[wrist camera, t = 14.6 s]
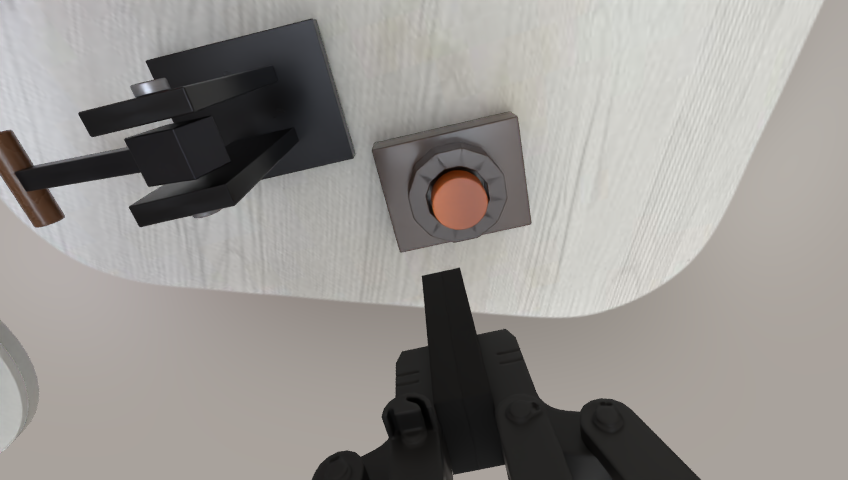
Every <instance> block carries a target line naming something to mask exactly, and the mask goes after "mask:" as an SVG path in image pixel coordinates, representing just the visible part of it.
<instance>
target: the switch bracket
mask: <svg viewBox="0 0 848 480" xmlns="http://www.w3.org/2000/svg"><path fill="white" fill-rule="evenodd" d="M146 63H147V65H148V67H149V70H150V72H151V74H152V76H153V78H154V80H151V81H147V82H143V83H139V84H135V85H131V86H130V88H131V90H132V92H133V94H134V96H135V97H136V98H134V99H130V100H126V101H122V102H118V103H114V104H110V105H106V106H102V107H98V108H94V109H90V110H86V111H82V112H79V113H78V114H79V116H80V118H81V120H82V122H83V123H84V125H85V127H86V129H87V131H88V133H89V134H90V136H91V137H96V136H100V135H104V134H108V133H112V132H116V131H120V130H125V129H129V128H133V127H137V126H141V125H145V124H149V123H153V122H157V121H162V120H166V119H170V118H172V120H173V122H174V123H178V122H183V121H187V120H192V119H197V118H201V117H206V116H212V117H213V119H214V122H215V124H216V126H217V129H218V131H219V134H220V136H221V138H222V141H223V143H224V145H225V148H226V150H227V153H228V155H229V157H230V160H231V162H230V163H228V164H226V165H224V166H222V167H220V168H218V169H216V170H214V171H212V172H210V173H208V174H206V175H204V176H202V177H200V178H198V179H196V180H191V181H184V182H178V183H171V184H165V185H163V186H161V187H159V188H158V189H156V190H155V191H153V192H151V193H150V194H148V195H147V196H145V197H143V198H142V199H140V200H139V201H137V202H135V203H134V204H132V205H131V206H129V209H130V210H131V212H132V214H133V216H134V218H135V220H136V221H137V223H138V225H139V227H143V226H148V225H152V224H157V223H161V222H165V221H170V220H174V219H178V218H183V217H187V216H193V217H194V218H202V217H206V216H209V215H212V214H214V213H216V212H218V211H220V210H221V209H222V208H227V207H231V206H235V205H236V204H237V203H238V202H239V201H240V200H241V199H242V198H243V197H244V196H245V195H246V194H247V193H248V192H249V191H250V190H251V189H252V188H253V187H254V186H255V185H256V184H257V183H258V182H259V181H260V180H262V179H266V178H271V177H275V176H279V175H284V174H288V173H292V172H297V171H301V170H305V169H310V168H314V167H318V166H323V165H327V164H331V163H336V162H340V161H344V160H349V159H353V158H354V156H355V151H354V148H353V144H352V141H351V137H350V134H349V131H348V127H347V124H346V120H345V117H344V113H343V110H342V107H341V103H340V100H339V96H338V93H337V90H336V86H335V83H334V79H333V76H332V73H331V69H330V66H329V62H328V59H327V55H326V52H325V49H324V45H323V42H322V38H321V35H320V32H319V28H318V25H317V21H316V19H309V20H305V21H301V22H297V23H293V24H289V25H285V26H281V27H277V28H273V29H269V30H265V31H261V32H257V33H253V34H249V35H245V36H241V37H237V38H234V39H230V40H226V41H222V42H218V43H214V44H210V45H206V46H202V47H198V48H194V49H190V50H186V51H182V52H178V53H174V54H170V55H166V56H162V57H158V58H154V59H150V60H146Z"/></svg>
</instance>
